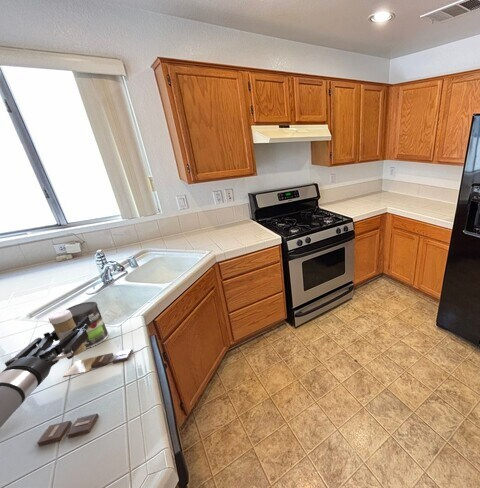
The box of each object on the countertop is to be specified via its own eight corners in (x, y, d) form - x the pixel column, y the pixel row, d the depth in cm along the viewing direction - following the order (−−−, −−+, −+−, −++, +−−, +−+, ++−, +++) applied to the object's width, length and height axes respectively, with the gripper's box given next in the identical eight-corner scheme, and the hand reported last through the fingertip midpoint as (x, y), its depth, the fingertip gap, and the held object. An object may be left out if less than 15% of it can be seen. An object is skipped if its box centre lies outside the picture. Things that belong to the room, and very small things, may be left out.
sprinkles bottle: (69, 350, 79) (51, 312, 75) (88, 344, 81) (72, 307, 77) (64, 359, 75) (44, 320, 71) (84, 353, 77) (66, 315, 73)
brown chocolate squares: (38, 446, 63) (36, 442, 63) (51, 428, 67) (49, 425, 67) (89, 432, 66) (87, 428, 65) (99, 416, 70) (97, 412, 69)
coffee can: (115, 334, 103) (103, 303, 99) (85, 352, 94) (70, 319, 89) (98, 329, 107) (85, 299, 102) (67, 347, 97) (52, 314, 93)
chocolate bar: (63, 377, 84) (61, 373, 83) (76, 361, 90) (74, 358, 90) (126, 362, 88) (125, 359, 87) (134, 348, 94) (133, 345, 94)
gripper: (-22, 404, 59) (49, 338, 80) (70, 383, 63) (114, 325, 84) (-40, 378, 56) (39, 317, 78) (57, 358, 60) (107, 305, 82)
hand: (78, 322), depth 81 cm, fingers closed on sprinkles bottle, 4 cm apart
